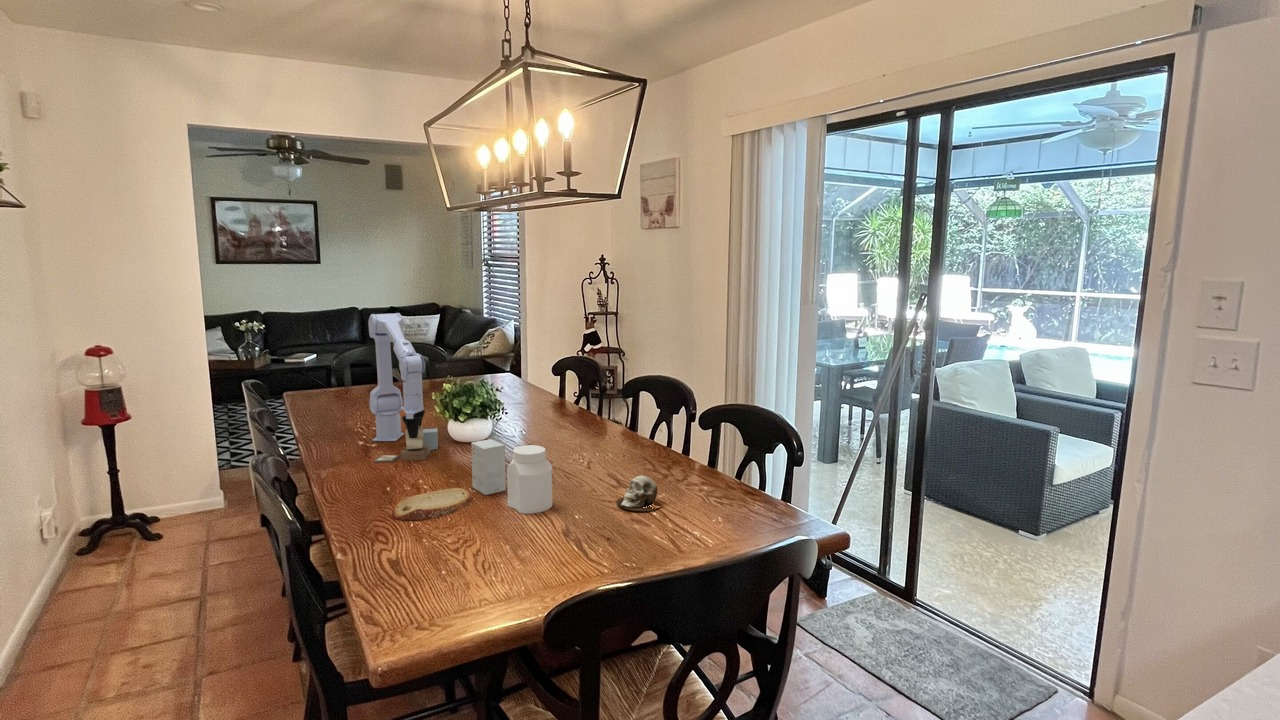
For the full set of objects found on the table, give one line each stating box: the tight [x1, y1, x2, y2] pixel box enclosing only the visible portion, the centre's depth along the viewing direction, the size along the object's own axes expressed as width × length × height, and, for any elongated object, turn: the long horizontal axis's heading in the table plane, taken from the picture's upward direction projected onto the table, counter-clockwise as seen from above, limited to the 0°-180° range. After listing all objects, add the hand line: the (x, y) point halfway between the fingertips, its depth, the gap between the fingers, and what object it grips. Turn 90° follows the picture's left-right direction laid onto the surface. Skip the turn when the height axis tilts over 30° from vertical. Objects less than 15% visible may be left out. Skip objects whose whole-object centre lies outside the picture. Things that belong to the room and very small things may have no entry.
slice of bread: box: [391, 487, 472, 522], centre depth 174 cm, size 18×18×4 cm
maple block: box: [404, 425, 424, 449], centre depth 215 cm, size 4×4×6 cm
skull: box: [615, 474, 658, 513], centre depth 178 cm, size 12×10×10 cm
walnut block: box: [400, 446, 431, 461], centre depth 215 cm, size 7×7×3 cm
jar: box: [506, 444, 553, 515], centre depth 175 cm, size 12×10×15 cm
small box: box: [471, 438, 507, 496], centre depth 187 cm, size 8×6×13 cm
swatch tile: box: [373, 454, 401, 463], centre depth 212 cm, size 6×6×1 cm
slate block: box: [423, 428, 439, 451], centre depth 225 cm, size 4×4×6 cm
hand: (414, 435), depth 214 cm, fingers open, 5 cm apart
